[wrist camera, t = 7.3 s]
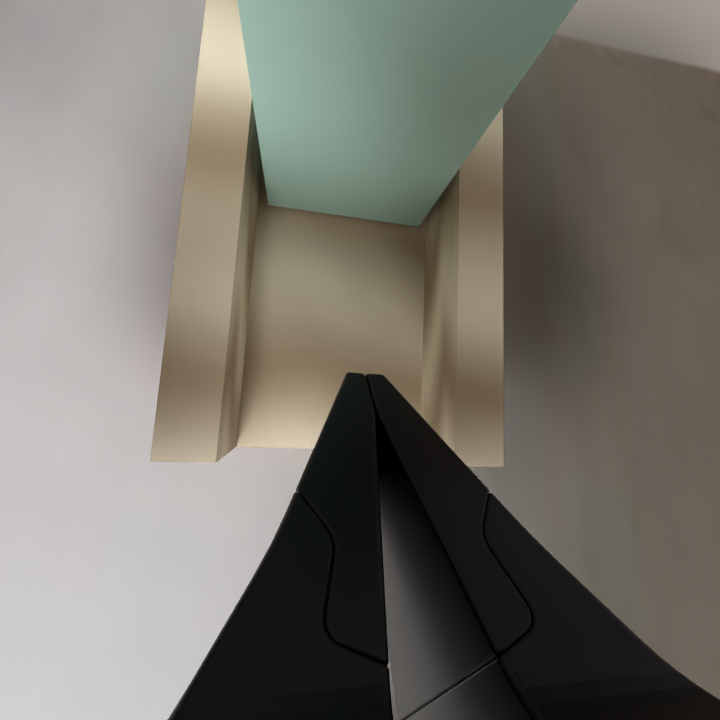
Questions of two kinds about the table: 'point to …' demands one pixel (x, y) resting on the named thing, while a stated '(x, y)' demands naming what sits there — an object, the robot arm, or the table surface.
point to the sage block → (382, 94)
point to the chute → (321, 293)
